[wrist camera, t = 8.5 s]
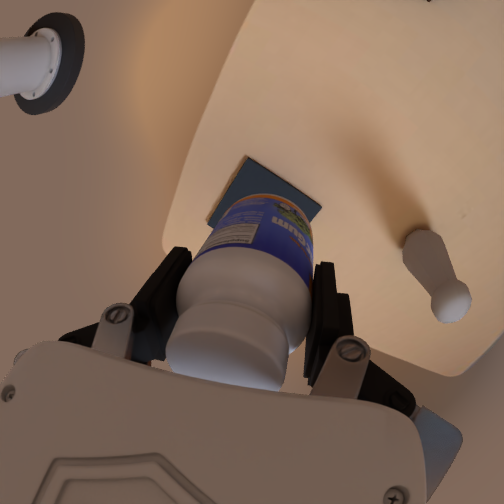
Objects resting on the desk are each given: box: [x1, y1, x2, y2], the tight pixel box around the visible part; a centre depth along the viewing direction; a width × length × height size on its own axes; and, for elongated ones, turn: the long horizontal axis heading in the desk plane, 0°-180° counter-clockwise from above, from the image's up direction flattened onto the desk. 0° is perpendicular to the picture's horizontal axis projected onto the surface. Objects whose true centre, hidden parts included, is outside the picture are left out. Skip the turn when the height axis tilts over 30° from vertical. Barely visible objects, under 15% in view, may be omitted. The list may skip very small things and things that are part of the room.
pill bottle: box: [166, 194, 313, 391], centre depth 13 cm, size 5×5×10 cm
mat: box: [207, 158, 322, 228], centre depth 34 cm, size 10×10×1 cm
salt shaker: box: [402, 229, 472, 323], centre depth 26 cm, size 6×6×13 cm
